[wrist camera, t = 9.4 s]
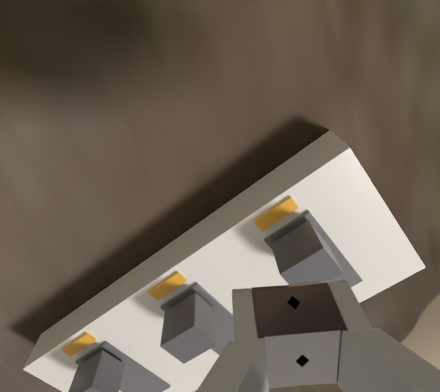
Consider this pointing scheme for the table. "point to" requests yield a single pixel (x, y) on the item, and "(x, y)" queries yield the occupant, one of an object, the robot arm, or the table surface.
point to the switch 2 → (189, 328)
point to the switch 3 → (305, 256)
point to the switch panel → (231, 269)
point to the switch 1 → (98, 374)
